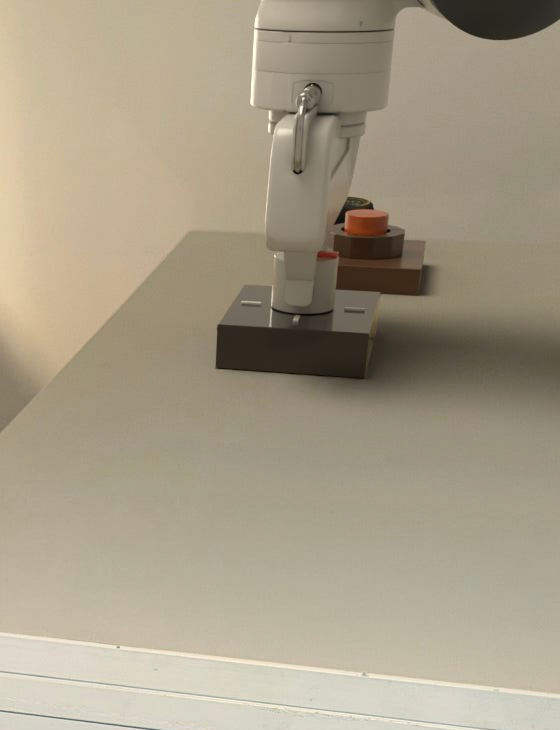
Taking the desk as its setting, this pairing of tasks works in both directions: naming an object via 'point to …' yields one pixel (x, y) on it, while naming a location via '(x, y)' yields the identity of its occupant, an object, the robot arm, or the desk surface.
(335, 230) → the switch block
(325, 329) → the knob base
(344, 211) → the tape measure
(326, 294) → the hob knob
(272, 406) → the desk surface
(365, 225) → the power button
